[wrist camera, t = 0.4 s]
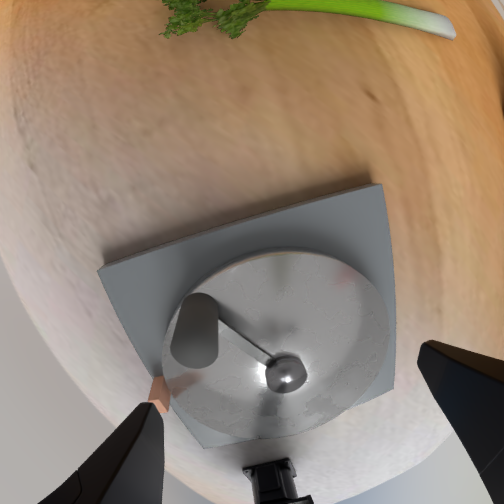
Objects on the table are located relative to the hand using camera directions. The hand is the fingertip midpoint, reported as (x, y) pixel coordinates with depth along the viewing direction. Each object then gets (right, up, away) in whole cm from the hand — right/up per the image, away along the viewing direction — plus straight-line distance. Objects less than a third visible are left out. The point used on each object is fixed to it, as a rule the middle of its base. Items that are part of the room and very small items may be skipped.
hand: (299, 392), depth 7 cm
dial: (+1, -4, +13) cm, 14 cm away
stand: (+1, -4, +15) cm, 16 cm away
